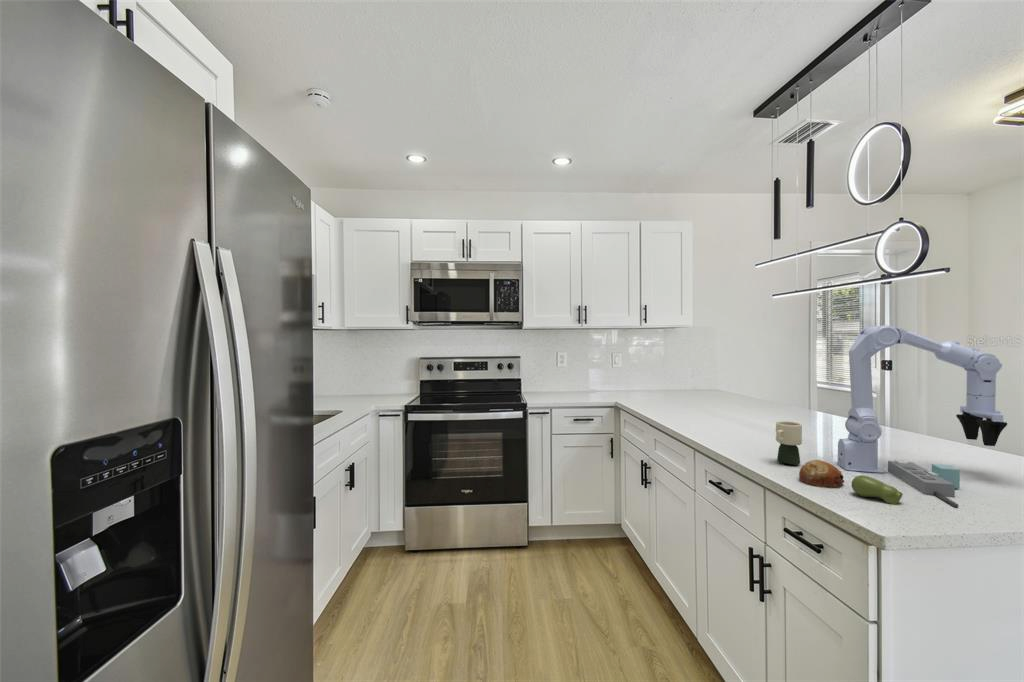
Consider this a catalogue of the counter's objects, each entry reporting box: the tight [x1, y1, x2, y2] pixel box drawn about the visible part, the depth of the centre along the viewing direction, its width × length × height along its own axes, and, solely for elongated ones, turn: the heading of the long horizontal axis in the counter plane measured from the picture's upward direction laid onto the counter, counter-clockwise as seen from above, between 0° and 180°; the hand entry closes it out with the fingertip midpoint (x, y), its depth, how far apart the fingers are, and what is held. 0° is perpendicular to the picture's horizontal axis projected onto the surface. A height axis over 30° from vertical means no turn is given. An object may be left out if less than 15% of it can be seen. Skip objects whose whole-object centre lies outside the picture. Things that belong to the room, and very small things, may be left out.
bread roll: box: [798, 459, 845, 489], centre depth 124 cm, size 10×10×8 cm
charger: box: [926, 463, 961, 490], centre depth 120 cm, size 6×4×5 cm
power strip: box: [887, 459, 959, 508], centre depth 119 cm, size 6×28×4 cm, turn 161°
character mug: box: [775, 420, 803, 466], centre depth 141 cm, size 11×7×13 cm, turn 115°
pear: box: [851, 475, 904, 505], centre depth 112 cm, size 6×5×10 cm
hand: (980, 442), depth 127 cm, fingers open, 7 cm apart
